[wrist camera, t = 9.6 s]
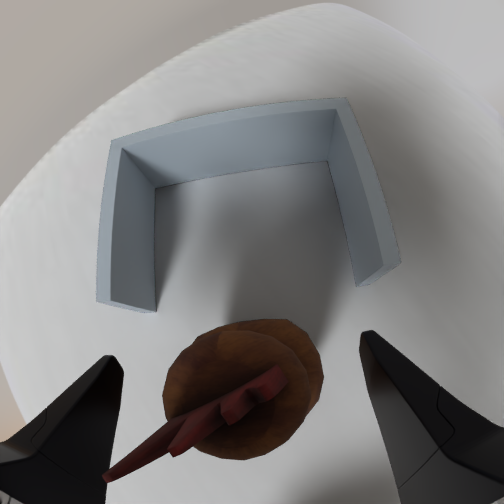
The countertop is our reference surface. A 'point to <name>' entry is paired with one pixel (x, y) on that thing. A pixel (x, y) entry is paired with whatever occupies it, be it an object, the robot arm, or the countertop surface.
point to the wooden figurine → (234, 394)
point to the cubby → (232, 161)
